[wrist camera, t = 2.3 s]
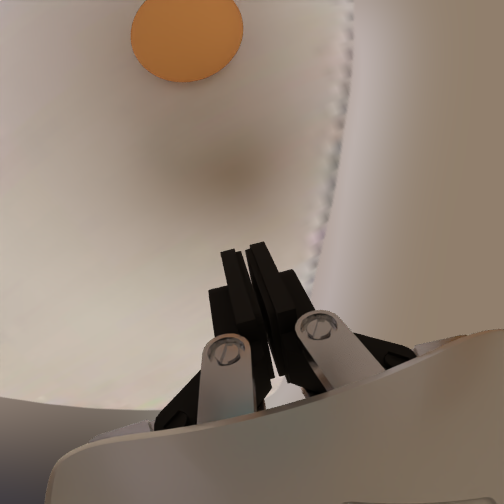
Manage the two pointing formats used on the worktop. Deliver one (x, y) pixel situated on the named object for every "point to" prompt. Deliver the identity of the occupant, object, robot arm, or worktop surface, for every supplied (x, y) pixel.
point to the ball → (186, 37)
